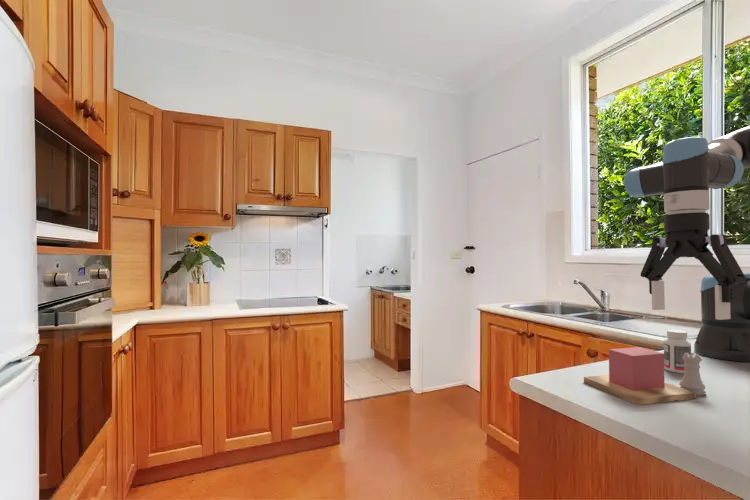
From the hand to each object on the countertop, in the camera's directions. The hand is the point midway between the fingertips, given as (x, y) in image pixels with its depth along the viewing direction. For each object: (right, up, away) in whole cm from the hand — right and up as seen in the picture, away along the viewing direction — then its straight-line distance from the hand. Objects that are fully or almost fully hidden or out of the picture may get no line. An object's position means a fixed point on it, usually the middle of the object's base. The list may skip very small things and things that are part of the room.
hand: (688, 314), depth 83 cm
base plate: (-10, -16, +1) cm, 19 cm away
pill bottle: (+9, -17, +15) cm, 24 cm away
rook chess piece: (+1, -17, 0) cm, 17 cm away
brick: (-10, -15, +1) cm, 18 cm away
